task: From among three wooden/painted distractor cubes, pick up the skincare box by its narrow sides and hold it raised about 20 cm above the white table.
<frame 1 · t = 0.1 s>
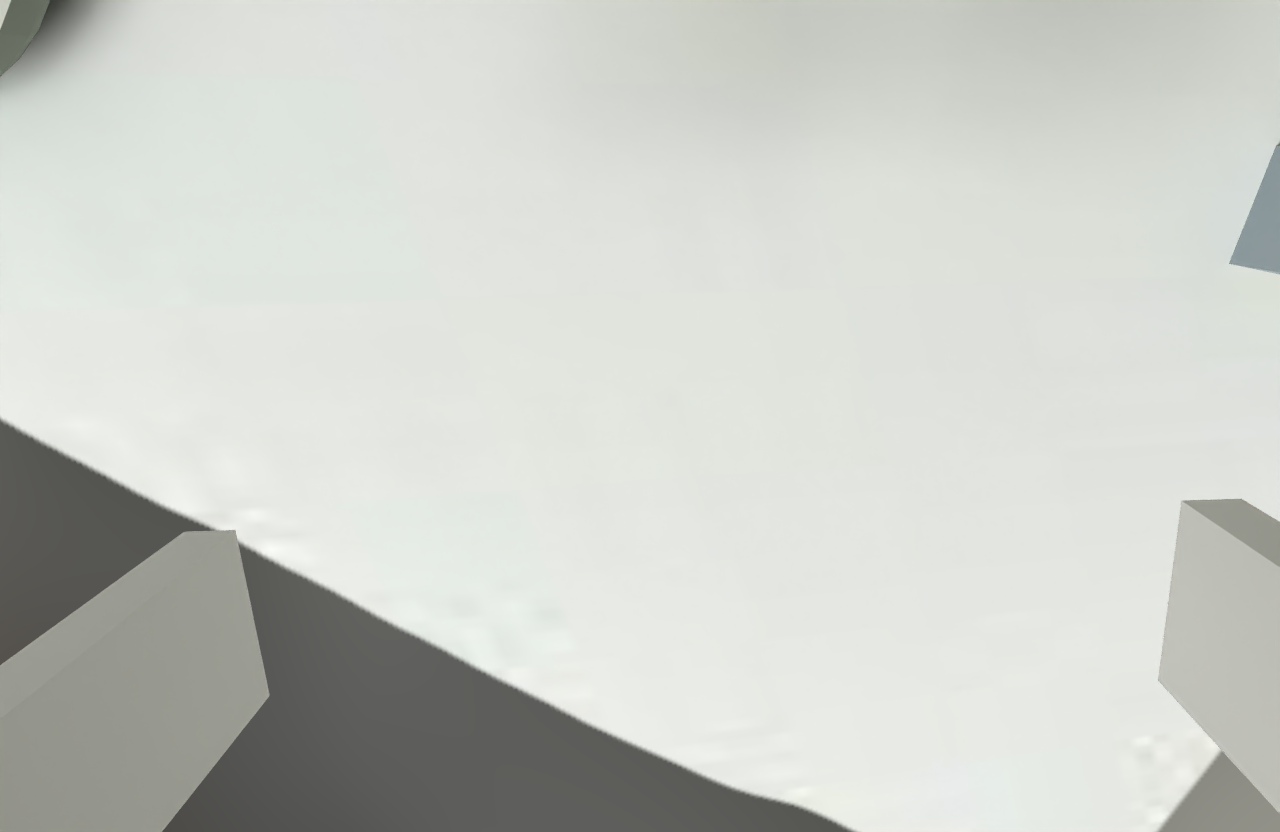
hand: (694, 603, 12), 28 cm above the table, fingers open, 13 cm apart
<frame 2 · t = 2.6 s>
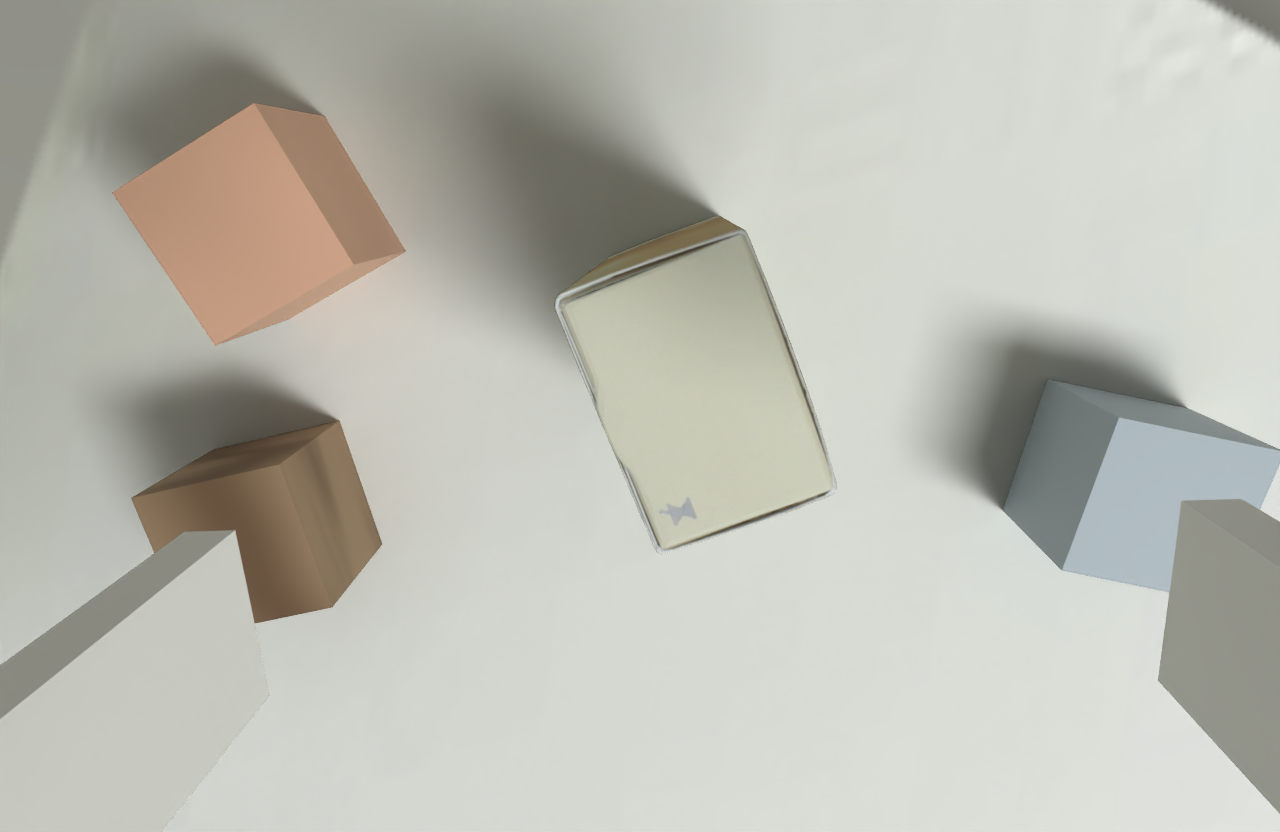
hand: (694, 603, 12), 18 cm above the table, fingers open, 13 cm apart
terracotta cube: (306, 221, 29), on the table
slate cube: (1091, 459, 30), on the table
skincare box: (691, 314, 30), on the table
walnut cube: (299, 496, 32), on the table
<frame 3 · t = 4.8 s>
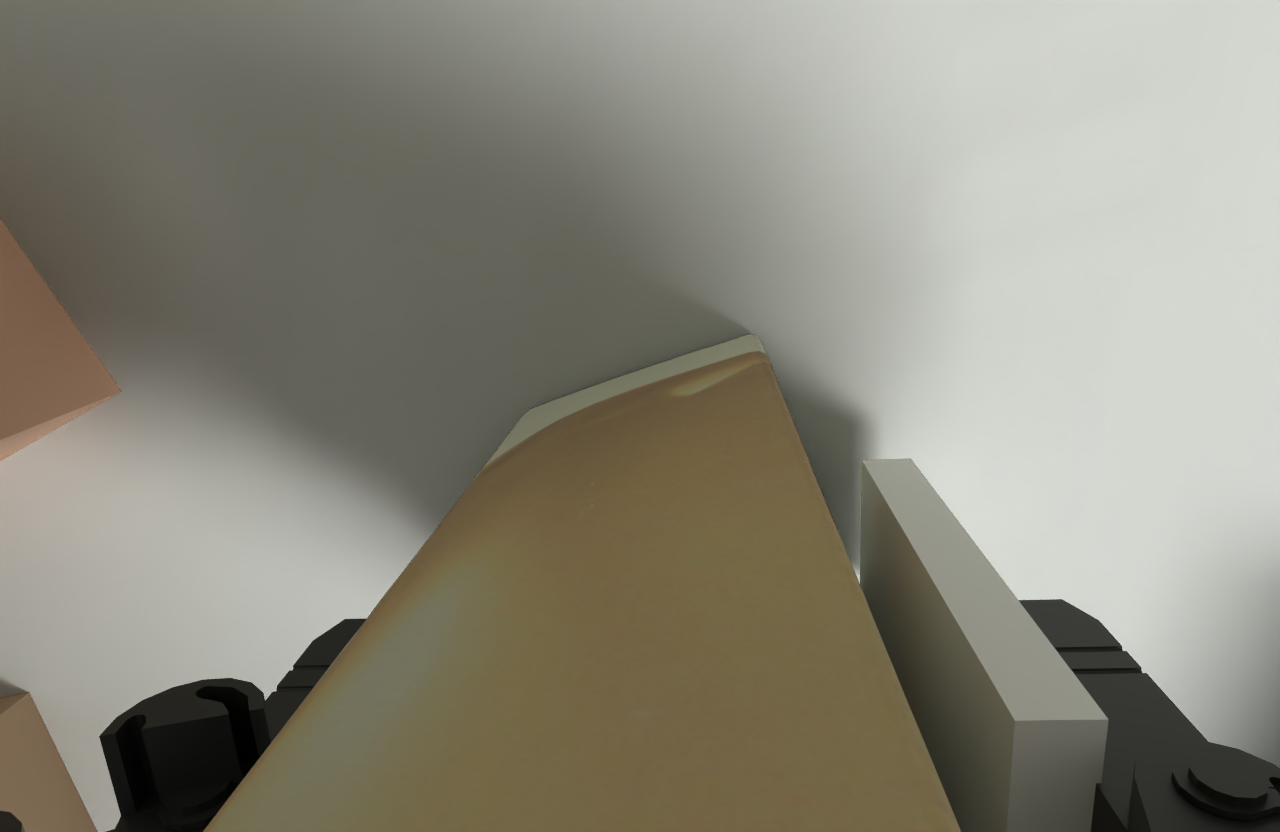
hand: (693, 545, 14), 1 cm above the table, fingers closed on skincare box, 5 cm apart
skincare box: (693, 519, 15), on the table, touching gripper
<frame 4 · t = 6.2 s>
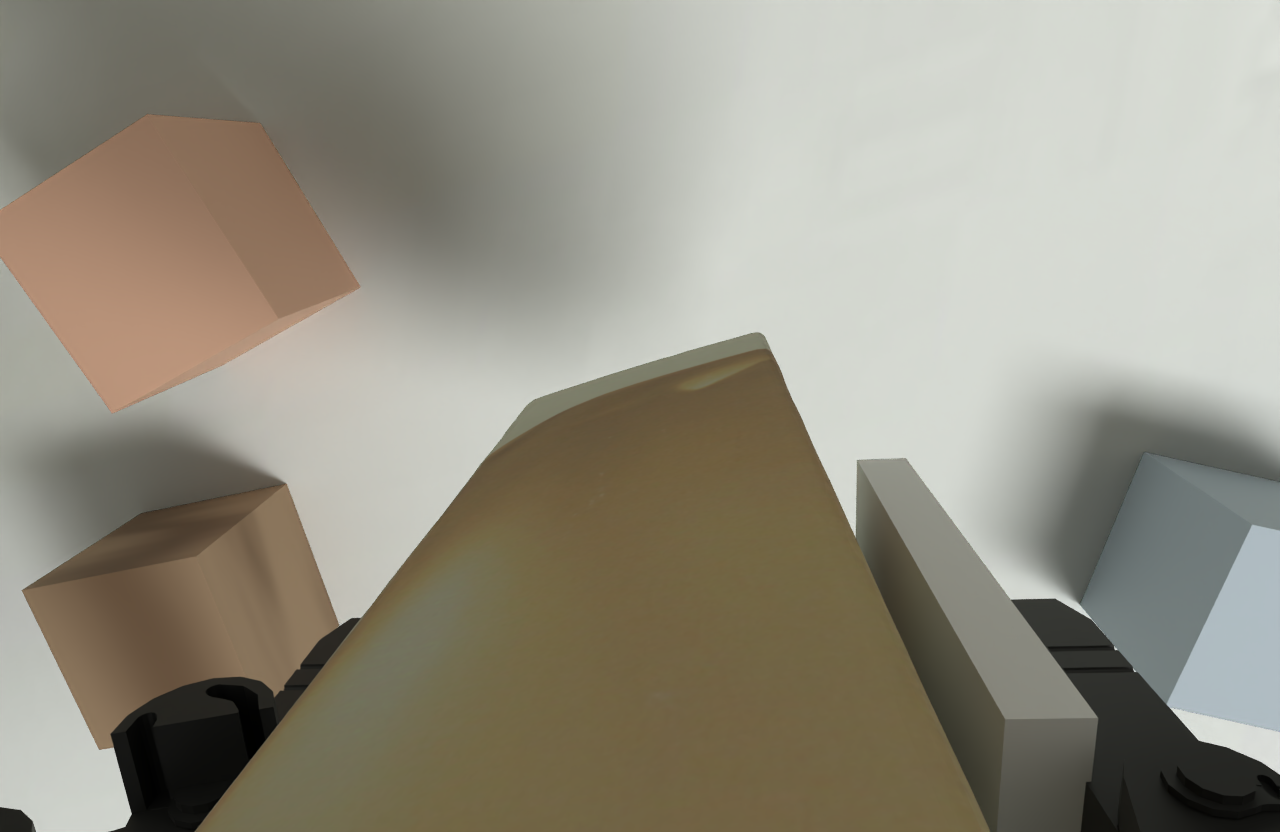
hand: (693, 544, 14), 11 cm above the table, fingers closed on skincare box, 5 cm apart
terracotta cube: (241, 249, 24), on the table
slate cube: (1193, 548, 25), on the table
skincare box: (692, 515, 15), point 10 cm above the table, touching gripper
walnut cube: (242, 568, 27), on the table
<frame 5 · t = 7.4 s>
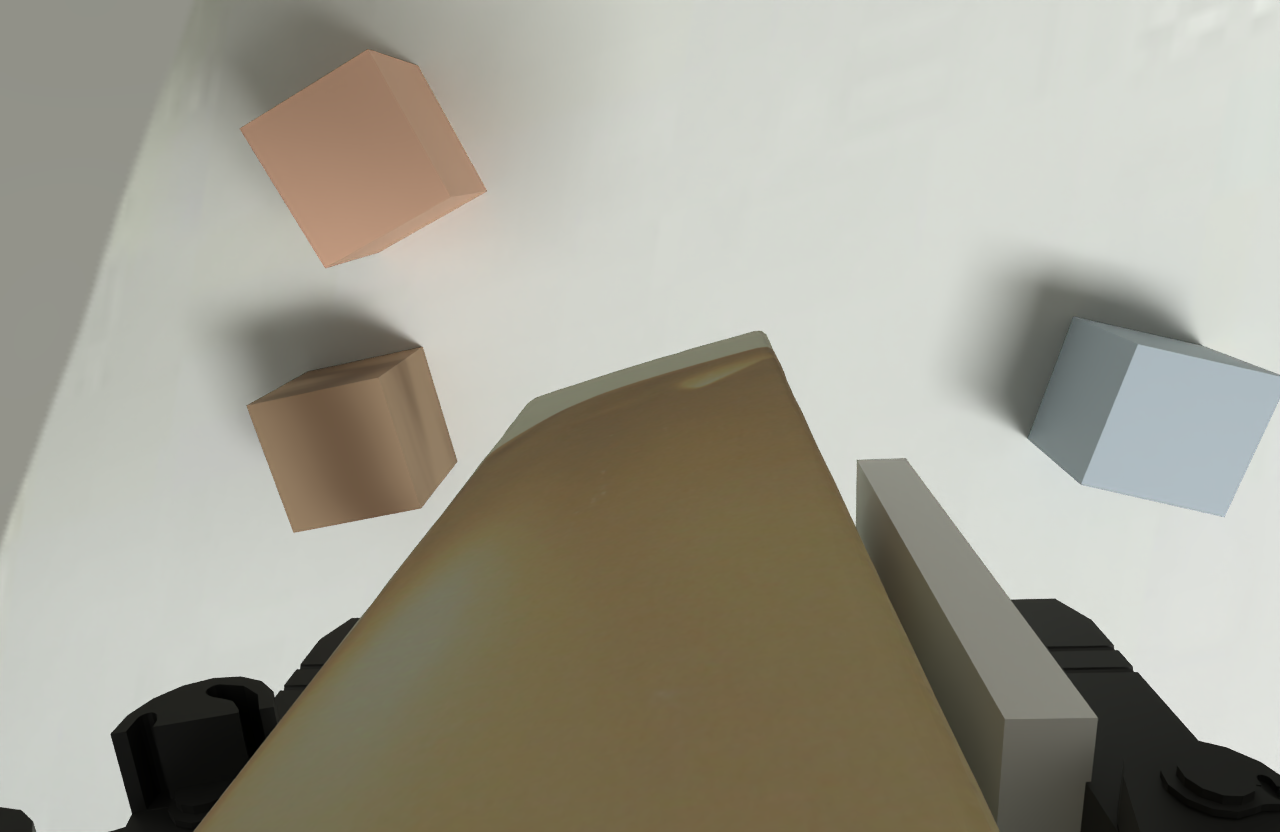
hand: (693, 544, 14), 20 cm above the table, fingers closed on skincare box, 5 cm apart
terracotta cube: (398, 162, 32), on the table
slate cube: (1112, 392, 33), on the table
skincare box: (693, 514, 15), point 19 cm above the table, touching gripper
walnut cube: (383, 416, 35), on the table
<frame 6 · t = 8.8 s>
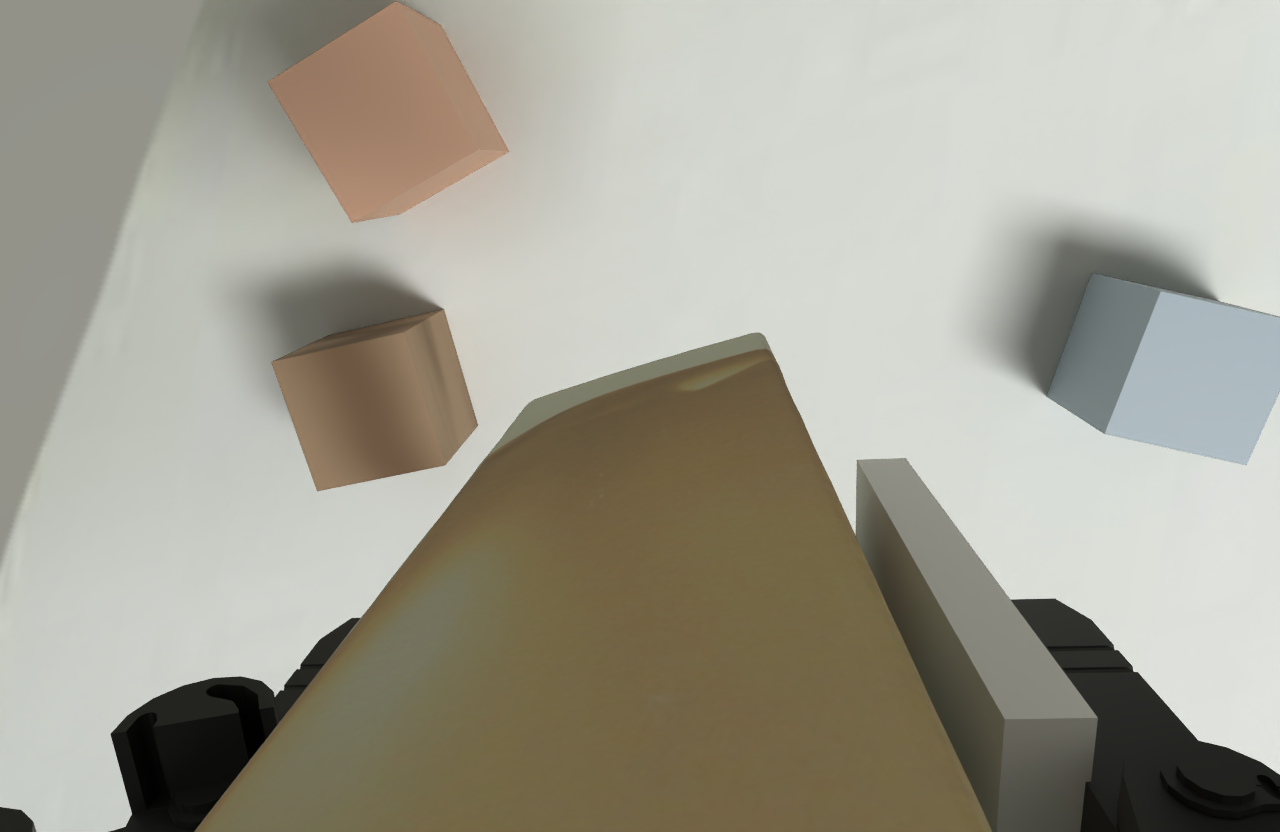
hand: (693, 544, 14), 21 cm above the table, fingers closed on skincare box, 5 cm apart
terracotta cube: (420, 122, 32), on the table
slate cube: (1130, 349, 33), on the table
skincare box: (692, 515, 15), point 20 cm above the table, touching gripper
walnut cube: (404, 380, 35), on the table
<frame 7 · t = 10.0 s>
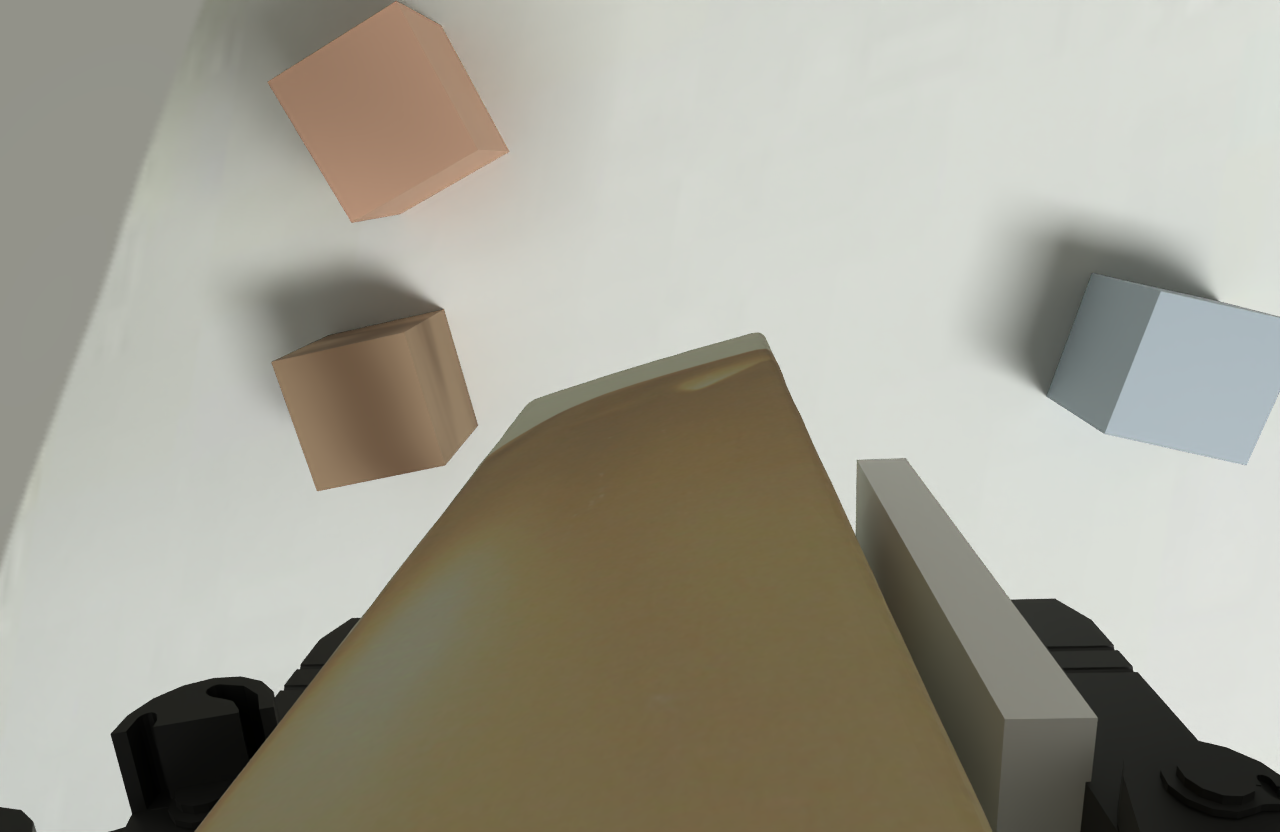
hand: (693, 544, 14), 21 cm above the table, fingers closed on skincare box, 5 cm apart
terracotta cube: (420, 122, 32), on the table
slate cube: (1130, 349, 33), on the table
skincare box: (692, 515, 15), point 20 cm above the table, touching gripper
walnut cube: (404, 380, 35), on the table
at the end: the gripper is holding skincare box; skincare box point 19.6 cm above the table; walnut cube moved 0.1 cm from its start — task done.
